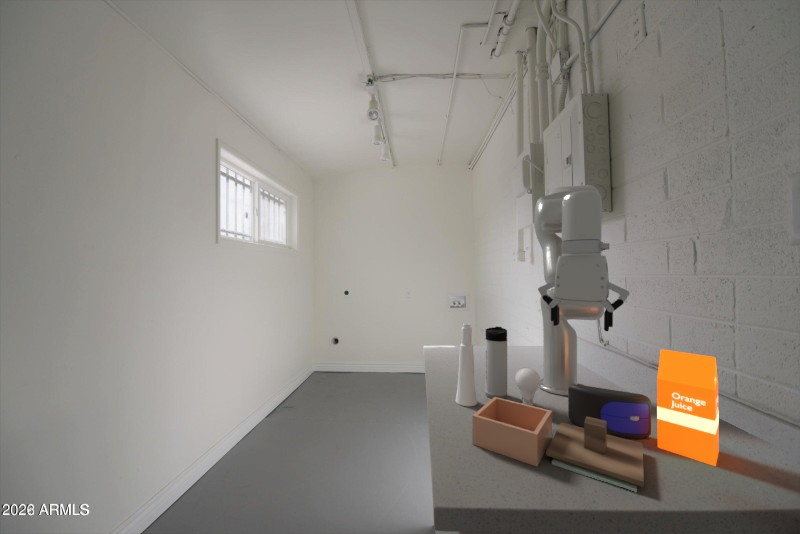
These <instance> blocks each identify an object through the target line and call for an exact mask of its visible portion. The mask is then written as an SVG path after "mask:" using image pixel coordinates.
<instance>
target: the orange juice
mask: <svg viewBox="0 0 800 534" xmlns="http://www.w3.org/2000/svg"><path fill="white" fill-rule="evenodd" d="M656 385H657V386H656V387H657V389H656V391H657V392H656V394H657V395H656V396H657V398H656V403H657V405H656V421H657V448H659V449H661V450H665V451H667V452H669V453H670V452H671V453H673V454H677V455H680V456H683V457H685V458H690V459H691V460H696V461H697V462H700V463H705V464H707V465H711V466H713V467H716V466H717V461H718V457H719V453H720V441H719V438H720V437H719V435H720V433H719V432H720V431H719V430H720V428H719V427H720V426H719V423H720V422H719V421H720V417H719V414H720V410H719V380H718V369H717V359H716V357H715V356H711V355H710V356H709V355H703V354H696V353H688V352H682V351H677V350H676V351H675V350H668V349H662V348H661V349H660V352H659V362H658V369H657V377H656Z"/></svg>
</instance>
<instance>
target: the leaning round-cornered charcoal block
mask: <svg viewBox="0 0 800 534" xmlns="http://www.w3.org/2000/svg"><path fill="white" fill-rule="evenodd" d="M577 384H578V383H577ZM577 384H573V385H570V386H569V388H568V396H567V397H568V401H567V402H568V404H567V405H568V413H567V414H568V415H567V416H568V419H569V421H570V422H571V423H573V424H574V425H575V426H577V427H580V426H581V428H584V422H585V419H586V416H587V417H592V418H596V419H600V420H604V421H607V434H608V435H612V436H616V437H619V438H623V439H627V438H628V439H638V440H639V439H640V440H641V439H646V438H648V437H650V436H651V434H652V400H651V399H650V398H649V397H648V396H646V395H644V394H641V393H635V392H628V391H622V390H616V389H610V388H604V387H603V388H602V387H596V386H590V385H582V384H579V385H577Z"/></svg>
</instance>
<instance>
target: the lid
mask: <svg viewBox="0 0 800 534" xmlns="http://www.w3.org/2000/svg"><path fill="white" fill-rule="evenodd" d="M643 447H644V446H643V443H642V442H637V441H634V440H630V439H627V438H624V437H617V436H612V435H608V434H607V421H604V420H600V419H596V418H592V417H587V416H586V419H585V422H584V428H583V427H580V426H578V425H573V424H569V423H565V422H562V421H561V422H560V424H559V425H558V427H557V429H556V431H555V433H554V435H553V436H552V439H551V441H550V443H549V445H548V447H547V449H546V451H545V453H546V455H545V456H547V457H549V458H550V457H551V458H552V459H553V458H556V459H559V460H562V461H565V462H569V463H572V464H575V465H578V466H581V467H584V468H587V469H590V470H593V471H596V472H599V473H602V474H605V475H609V476H612V477H615V478H618V479H621V480H624V481H627V482H630V483H633V484H636V485H637V486H640V487H643V488H644V487H645V478H644V477H645V476H644V475H645V474H644V455H643V454H644V450H643V449H644V448H643Z"/></svg>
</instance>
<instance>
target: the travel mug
mask: <svg viewBox="0 0 800 534" xmlns="http://www.w3.org/2000/svg"><path fill="white" fill-rule="evenodd" d="M484 340H485V345H484V347H485V348H484V350H485V351H484V352H485V353H484V355H485V356H484V357H485V361H484V362H485V364H484V365H485V367H484V369H485V370H484V371H485V372H484V373H485V374H484V375H485V377H484V378H485V380H484V383H485V385H484V386H485V387H484V388H485V390H484V391H485V393H484V394H485V396H486V397H487V398H489V399H492V398H494V397H498V398H502V399H507V397H508V329H506V328H504V327H502V326H495V327H488V328H486V329H485V339H484Z"/></svg>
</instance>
